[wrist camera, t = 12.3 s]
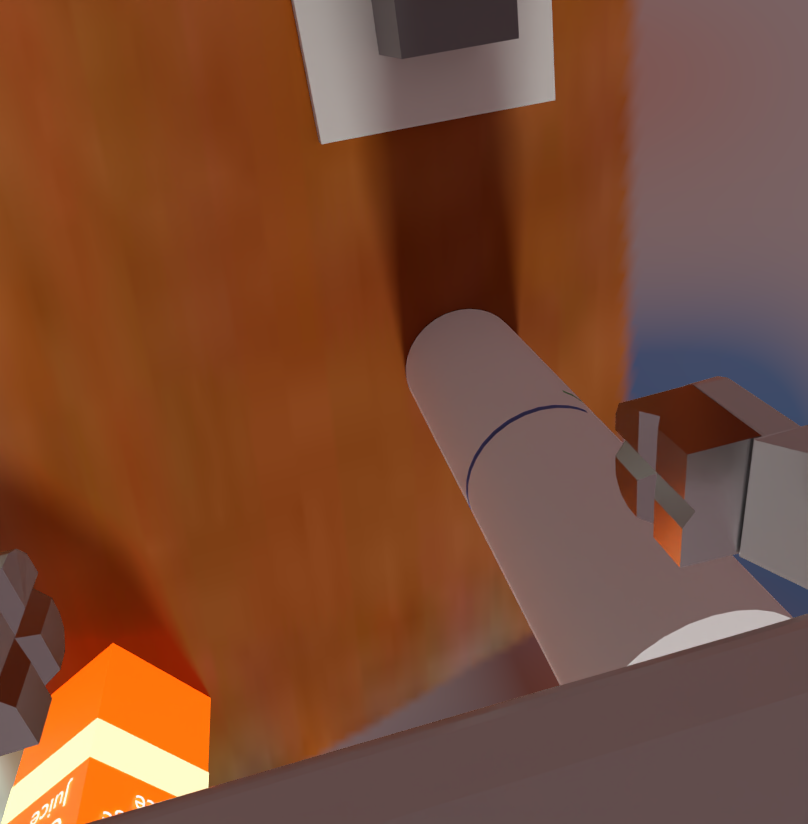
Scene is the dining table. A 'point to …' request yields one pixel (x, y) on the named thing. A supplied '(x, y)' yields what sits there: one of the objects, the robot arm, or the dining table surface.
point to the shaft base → (415, 71)
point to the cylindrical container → (565, 508)
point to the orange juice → (113, 744)
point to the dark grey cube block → (441, 25)
